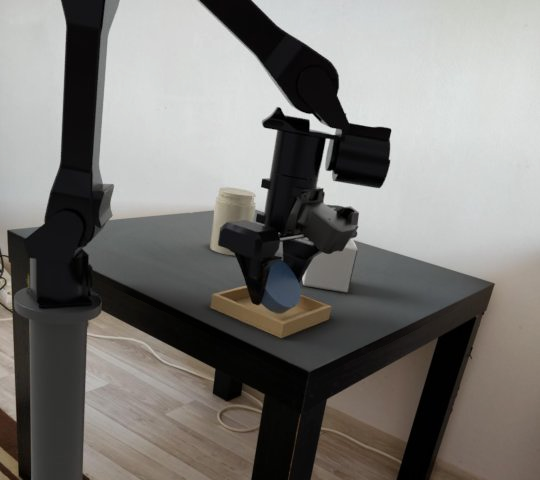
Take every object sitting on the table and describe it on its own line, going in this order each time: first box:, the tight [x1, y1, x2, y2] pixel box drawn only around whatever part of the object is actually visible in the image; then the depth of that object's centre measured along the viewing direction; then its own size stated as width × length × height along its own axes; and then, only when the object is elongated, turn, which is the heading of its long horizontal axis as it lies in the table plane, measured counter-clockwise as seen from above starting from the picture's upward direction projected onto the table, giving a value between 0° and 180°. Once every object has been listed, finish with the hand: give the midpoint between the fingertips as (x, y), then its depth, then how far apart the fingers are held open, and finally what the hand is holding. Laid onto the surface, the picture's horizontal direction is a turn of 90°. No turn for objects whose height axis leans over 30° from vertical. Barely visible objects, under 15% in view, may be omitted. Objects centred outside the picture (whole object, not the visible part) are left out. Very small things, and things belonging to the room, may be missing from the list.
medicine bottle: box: [301, 204, 359, 293], centre depth 90 cm, size 7×7×12 cm
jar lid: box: [261, 259, 302, 314], centre depth 74 cm, size 7×7×2 cm
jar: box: [209, 186, 257, 257], centre depth 99 cm, size 7×7×10 cm
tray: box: [210, 285, 332, 339], centre depth 75 cm, size 11×11×2 cm
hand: (273, 299), depth 75 cm, fingers closed on jar lid, 7 cm apart
